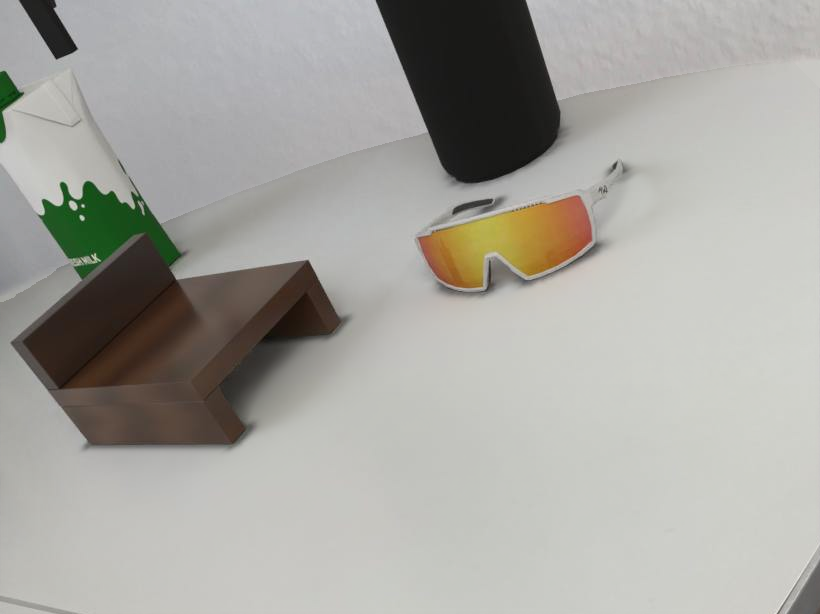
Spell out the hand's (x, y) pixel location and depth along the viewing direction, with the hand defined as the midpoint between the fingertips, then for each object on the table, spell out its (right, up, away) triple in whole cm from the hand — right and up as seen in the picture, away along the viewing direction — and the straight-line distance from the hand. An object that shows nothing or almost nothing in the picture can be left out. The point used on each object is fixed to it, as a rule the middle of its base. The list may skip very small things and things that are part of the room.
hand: (17, 90), depth 87 cm
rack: (+21, -29, -13) cm, 38 cm away
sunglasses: (+44, -20, -17) cm, 51 cm away
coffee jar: (+43, -7, -3) cm, 44 cm away
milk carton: (+7, -12, +12) cm, 19 cm away
